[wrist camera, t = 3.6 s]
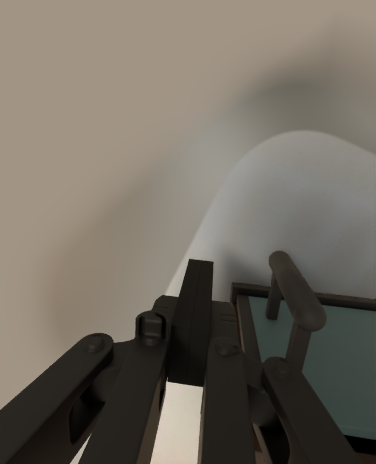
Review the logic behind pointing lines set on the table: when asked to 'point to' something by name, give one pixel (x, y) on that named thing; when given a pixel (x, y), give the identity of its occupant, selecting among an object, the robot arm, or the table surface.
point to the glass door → (316, 344)
